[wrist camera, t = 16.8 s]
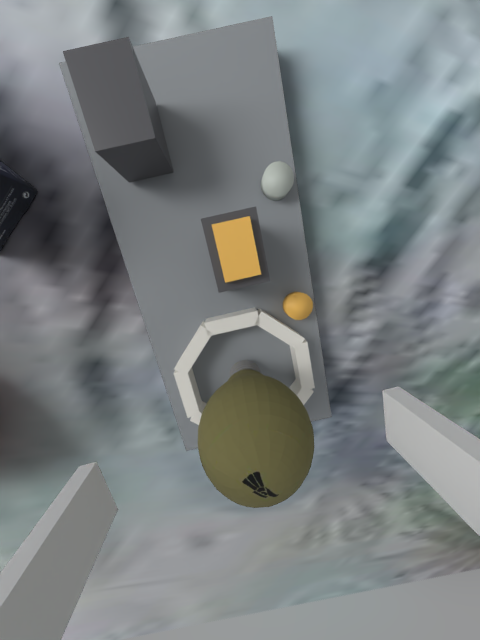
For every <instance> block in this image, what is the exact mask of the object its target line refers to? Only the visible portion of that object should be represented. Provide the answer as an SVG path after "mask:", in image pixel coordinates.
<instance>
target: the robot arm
mask: <svg viewBox="0 0 480 640" xmlns="http://www.w3.org/2000/svg"><path fill="white" fill-rule="evenodd" d="M382 391H383V403H384V415H385V428H386V440H387V442H388V443H389V444H390V445H391V446H392V447H393V448H394V449H395V450H396V451H397V452H398V453H399V454H400V455H401V456H402V457H403V458H404V459H405V460H406V461H407V462H408V463H409V464H410V465H411V466H412V467H413V468H414V469H415V470H416V471H417V472H418V473H419V474H420V475H421V476H422V477H423V478H424V479H425V481H426V482H427V483H428V484H429V485H430V486H431V487H432V488H433V489H434V490H435V491H436V492H437V493H438V494H439V495H440V496H441V497H442V498H443V499H444V500H445V501H446V502H447V503H448V504H449V505H450V506H451V507H452V508H453V509H454V510H455V511H456V512H457V513H458V514H459V515H460V516H461V517H462V519H463V520H464V521H465V522H466V523H467V524H468V525H469V526H470V527H471V528H472V529H473V530H474V531H475V532H476V533H477V534H478V535H479V536H480V439H479V438H477V437H476V436H474V435H472V434H471V433H469V432H468V431H466V430H465V429H463V428H462V427H460V426H459V425H457V424H456V423H454V422H453V421H451V420H449V419H448V418H446V417H445V416H443V415H442V414H440V413H439V412H437V411H436V410H434V409H433V408H431V407H429V406H428V405H426V404H425V403H423V402H422V401H420V400H419V399H417V398H416V397H414V396H413V395H411V394H409V393H408V392H406V391H405V390H403V389H402V388H400V387H399V386H398V387H394V388H390V389H386V390H382ZM117 511H118V508H117V506H116V504H115V502H114V499H113V497H112V495H111V493H110V490H109V488H108V486H107V484H106V482H105V479H104V477H103V475H102V473H101V470H100V468H99V466H98V464H97V462H93V463H89V464H85V465H81V466H79V467H78V468H77V470H76V471H75V472H74V474H73V475H72V476H71V478H70V479H69V480H68V482H67V483H66V485H65V486H64V487H63V489H62V490H61V491H60V493H59V494H58V495H57V497H56V498H55V500H54V501H53V502H52V504H51V505H50V506H49V508H48V509H47V510H46V512H45V513H44V514H43V516H42V517H41V519H40V520H39V521H38V523H37V524H36V525H35V527H34V528H33V529H32V531H31V532H30V534H29V535H28V536H27V538H26V539H25V540H24V542H23V543H22V544H21V546H20V547H19V548H18V550H17V551H16V553H15V554H14V555H13V557H12V558H11V559H10V561H9V562H8V563H7V565H6V566H5V568H4V569H3V570H2V572H1V573H0V640H61V638H62V636H63V634H64V632H65V629H66V627H67V625H68V622H69V620H70V618H71V616H72V613H73V611H74V609H75V606H76V604H77V602H78V600H79V597H80V595H81V593H82V591H83V588H84V586H85V584H86V581H87V579H88V577H89V575H90V572H91V570H92V568H93V565H94V563H95V561H96V559H97V556H98V554H99V552H100V549H101V547H102V545H103V543H104V540H105V538H106V536H107V533H108V531H109V529H110V527H111V524H112V522H113V520H114V517H115V515H116V513H117Z"/></svg>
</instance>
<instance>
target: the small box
mask: <svg viewBox="0 0 480 640" xmlns="http://www.w3.org/2000/svg"><path fill="white" fill-rule="evenodd" d="M36 193H37V190H36V189H35V188H34V187H33V186H32V185H31V184H29V183H28V182H27V181H25V180H24V179H23V178H22V177H20V176H19V175H18V174H17V173H15V172H14V171H13V170H12V169H10V168H9V167H8V166H6V165H5V164H4V163H3V162H1V161H0V251H1V249H2V247H3V245H4V243H5V242H6V241H7V238H8V237H9V235H10V234H11V232H12V231H13V229H14V228H15V226H16V225H17V223H18V222H19V220H20V219H21V217H22V216H23V214H24V213H25V212H26V211H27V209H28V207H29V205H30V204H31V202H32V201H33V198H34V197H35V195H36Z"/></svg>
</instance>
